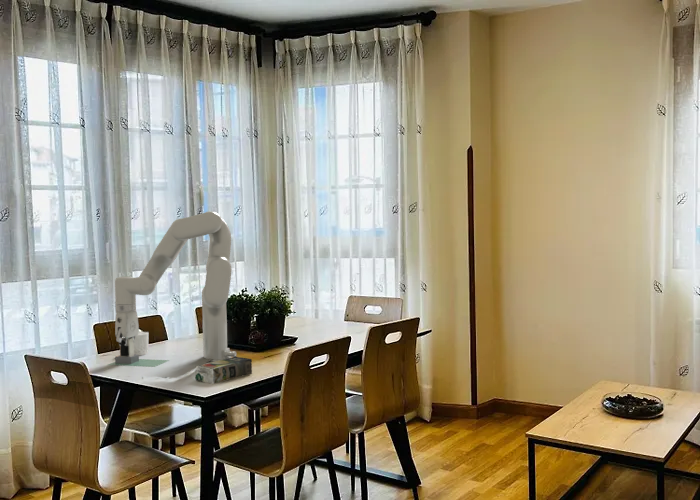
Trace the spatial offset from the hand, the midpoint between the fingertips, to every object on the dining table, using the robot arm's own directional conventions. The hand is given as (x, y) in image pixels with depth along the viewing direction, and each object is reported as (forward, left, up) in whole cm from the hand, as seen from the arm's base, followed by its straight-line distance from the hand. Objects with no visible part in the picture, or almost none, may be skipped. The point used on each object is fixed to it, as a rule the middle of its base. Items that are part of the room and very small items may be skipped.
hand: (127, 354), depth 274 cm
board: (-5, 0, -4) cm, 7 cm away
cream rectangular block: (0, 0, -2) cm, 2 cm away
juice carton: (-45, +11, -5) cm, 47 cm away
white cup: (+4, -16, -5) cm, 17 cm away
